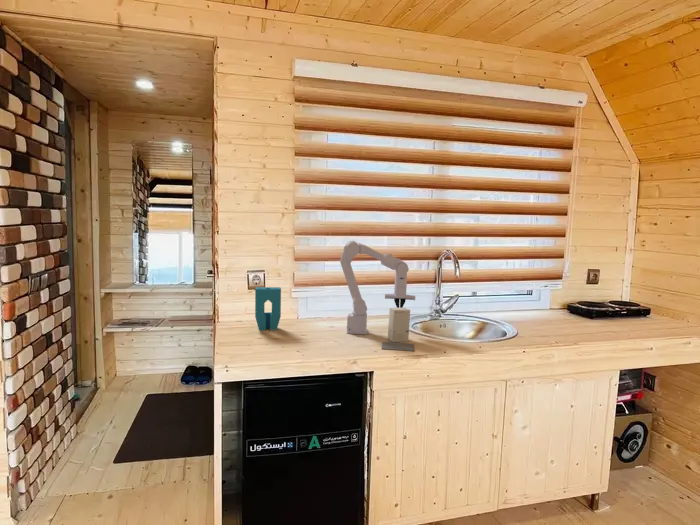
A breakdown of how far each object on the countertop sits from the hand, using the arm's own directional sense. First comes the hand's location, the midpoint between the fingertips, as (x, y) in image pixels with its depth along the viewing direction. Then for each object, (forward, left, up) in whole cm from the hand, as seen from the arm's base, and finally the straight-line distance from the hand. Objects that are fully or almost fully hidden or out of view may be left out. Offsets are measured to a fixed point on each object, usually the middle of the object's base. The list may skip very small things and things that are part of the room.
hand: (399, 313), depth 222 cm
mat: (0, -22, -9) cm, 24 cm away
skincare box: (0, -12, -10) cm, 15 cm away
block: (-63, -7, -10) cm, 64 cm away
